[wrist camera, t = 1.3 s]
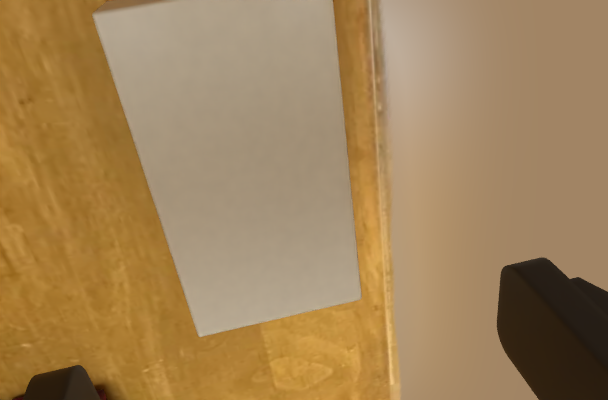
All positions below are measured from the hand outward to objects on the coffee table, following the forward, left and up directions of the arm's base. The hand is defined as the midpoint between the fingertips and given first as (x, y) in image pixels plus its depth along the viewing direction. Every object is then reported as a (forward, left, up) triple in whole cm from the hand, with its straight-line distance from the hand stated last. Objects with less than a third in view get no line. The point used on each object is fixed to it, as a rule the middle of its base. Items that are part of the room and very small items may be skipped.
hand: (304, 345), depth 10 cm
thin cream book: (0, 0, -9) cm, 9 cm away
